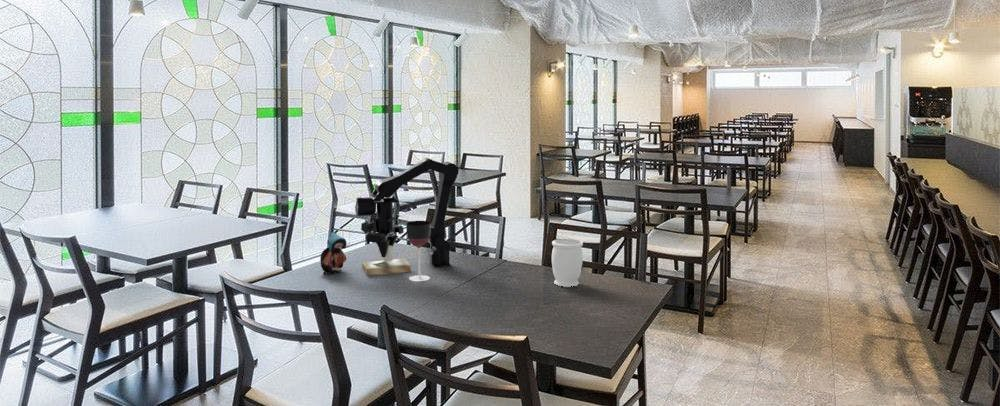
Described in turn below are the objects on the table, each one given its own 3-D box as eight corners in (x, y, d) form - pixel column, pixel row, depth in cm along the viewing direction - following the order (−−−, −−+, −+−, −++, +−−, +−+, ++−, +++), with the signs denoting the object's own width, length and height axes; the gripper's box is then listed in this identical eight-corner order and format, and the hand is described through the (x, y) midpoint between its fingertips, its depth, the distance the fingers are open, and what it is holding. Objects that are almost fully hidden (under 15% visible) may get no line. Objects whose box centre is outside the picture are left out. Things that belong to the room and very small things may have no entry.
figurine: (331, 277, 229) (329, 236, 227) (317, 274, 233) (315, 233, 231) (351, 270, 238) (350, 231, 235) (338, 267, 241) (336, 228, 239)
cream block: (382, 261, 241) (382, 243, 239) (392, 264, 237) (392, 245, 235) (369, 264, 236) (369, 245, 235) (379, 267, 232) (379, 248, 231)
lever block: (404, 264, 246) (403, 257, 246) (410, 271, 237) (410, 264, 236) (362, 268, 240) (361, 261, 240) (367, 275, 231) (366, 268, 230)
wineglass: (435, 276, 231) (434, 221, 227) (422, 282, 223) (421, 226, 219) (416, 273, 234) (415, 219, 231) (403, 280, 226) (402, 224, 223)
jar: (584, 281, 225) (585, 239, 223) (578, 290, 216) (579, 246, 213) (555, 278, 229) (556, 237, 226) (547, 286, 219) (548, 243, 216)
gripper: (377, 209, 246) (378, 248, 249) (351, 217, 229) (353, 260, 231) (403, 211, 243) (404, 251, 245) (379, 220, 225) (380, 263, 228)
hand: (385, 256), depth 238 cm, fingers closed on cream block, 3 cm apart
